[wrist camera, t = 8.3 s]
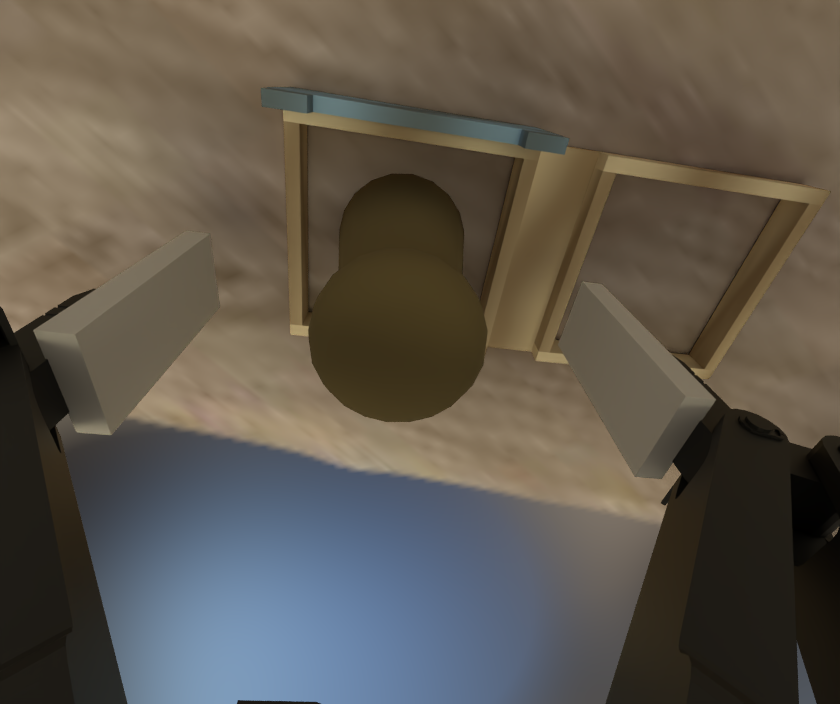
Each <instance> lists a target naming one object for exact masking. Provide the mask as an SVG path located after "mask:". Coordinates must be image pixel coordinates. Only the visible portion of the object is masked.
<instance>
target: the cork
mask: <svg viewBox="0 0 840 704" xmlns="http://www.w3.org/2000/svg"><path fill="white" fill-rule="evenodd" d="M463 244H464V229H463V225H462V221H461V217H460V213H459V211H458V209H457V208H456V206H455V204H454V203H453V201H452V200H451V198H450V196H449V195H448V194H447V193H446V192H444V191H443V190H442V189H441V188H440V187H438V186H437V185H436V184H435V183H434V182H432V181H429V180H427V179H424V178H421V177H419V176H416V175H413V174H390V175H387V176H384V177H381V178H378V179H375V180H372V181H370V182H369V183H368V184H366V185H365V186H364V187H363V188H361V189H360V190H359V191H357V192H356V193H355V194H354V196H353V197H352V199H351V201H350V202H349V204H348V205H347V207H346V208H345V210H344V214H343V218H342V222H341V226H340V235H339V271H337V272H336V273H335V274H333V275H332V277H331V278H330V280H329V281H328V283H327V284H326V285H325V287H324V288H323V290H322V291H321V293H320V294H319V296H318V298H317V300H316V302H315V304H314V307H313V311H312V315H311V320H310V324H309V328H308V334H309V344H310V351H311V358H312V364H313V366H314V368H315V369H316V371H317V373H318V375H319V377H320V379H321V381H322V382H323V384H324V385H325V387H326V388H327V389H328V390H329V391H330V392H331V393H332V394H333V395H334V396H335V397H336V398H337V399H338V400H339V401H340V402H341V403H342V404H343V405H344V406H346V407H348V408H350V409H351V410H353V411H355V412H357V413H359V414H361V415H363V416H365V417H369V418H373V419H377V420H381V421H385V422H411V421H416V420H420V419H424V418H428V417H432V416H434V415H436V414H438V413H439V412H441V411H443V410H445V409H447V408H449V407H451V406H452V405H453V404H454V403H455V402H456V401H457V400H458V399H459V398H460V397H461V396H462V395H463V394H464V393H465V392H466V391H467V390H468V389H469V388H470V387H471V386H472V385H473V383H474V381H475V379H476V378H477V376H478V374H479V372H480V370H481V368H482V366H483V363H484V356H485V349H486V341H487V334H488V330H487V326H486V321H485V317H484V313H483V309H482V306H481V303H480V300H479V298H478V296H477V295H476V293H475V292H474V290H473V289H472V287H471V286H470V284H469V283H468V281H467V280H466V278H465V277H464V276H463V275H462V270H463Z"/></svg>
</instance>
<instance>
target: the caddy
mask: <svg viewBox="0 0 840 704" xmlns="http://www.w3.org/2000/svg"><path fill="white" fill-rule="evenodd" d="M261 100H262V107H268V108H274V109H281V110H283V122H284V153H285V183H286V214H287V245H288V276H289V307H290V334H291V335H300V336H309V334H308V328H309V324H310V320H311V315H312V312H308V157H307V125H313V126H319V127H325V128H332V129H338V130H344V131H351V132H357V133H364V134H370V135H376V136H383V137H389V138H395V139H402V140H408V141H414V142H421V143H427V144H433V145H440V146H446V147H453V148H459V149H465V150H472V151H478V152H484V153H491V154H497V155H503V156H510V157H515V160H514V164H513V168H512V172H511V176H510V180H509V184H508V188H507V192H506V197H505V201H504V205H503V209H502V213H501V217H500V221H499V225H498V229H497V233H496V237H495V241H494V246H493V250H492V254H491V258H490V262H489V266H488V270H487V274H486V278H485V282H484V286H483V290H482V295H481V299H480V303H481V306H482V309H483V313H484V317H485V321H486V326H487V330H488V334H487V341H486V349H485V354H486V350H487V347H493V348H502V349H512V350H521V351H530V352H532V354H533V357H534V359H535V361H543V362H553V363H562V364H569V363H568V361H567V360H566V358H565V356H564V354H563V353H562V351H561V349H560V348H559V346H558V343H559V340H554V339H555V337H556V334H557V331H558V328H559V326H560V323H561V320H562V318H563V315H564V312H565V310H566V307H567V304H568V302H569V299H570V296H571V294H572V291H573V288H574V286H575V283H576V280H577V278H578V275H579V272H580V270H581V267H582V264H583V262H584V259H585V256H586V254H587V251H588V248H589V246H590V243H591V240H592V238H593V235H594V232H595V230H596V227H597V224H598V222H599V219H600V216H601V214H602V211H603V208H604V206H605V203H606V200H607V198H608V195H609V192H610V190H611V187H612V184H613V182H614V179H615V176H616V174H617V173H618V174H624V175H631V176H637V177H643V178H650V179H656V180H662V181H669V182H675V183H681V184H688V185H694V186H700V187H707V188H713V189H720V190H726V191H732V192H739V193H745V194H751V195H758V196H764V197H770V198H777V199H781V201H780V202H779V204H778V206H777V207H776V209H775V211H774V212H773V214H772V216H771V217H770V219H769V221H768V222H767V224H766V226H765V227H764V229H763V231H762V233H761V234H760V236H759V238H758V239H757V241H756V243H755V244H754V246H753V248H752V249H751V251H750V253H749V254H748V256H747V258H746V259H745V261H744V263H743V264H742V266H741V268H740V269H739V271H738V273H737V275H736V276H735V278H734V280H733V281H732V283H731V285H730V286H729V288H728V290H727V291H726V293H725V295H724V296H723V298H722V300H721V301H720V303H719V305H718V306H717V308H716V310H715V311H714V313H713V315H712V316H711V318H710V320H709V322H708V323H707V325H706V327H705V328H704V330H703V332H702V333H701V335H700V337H699V338H698V340H697V342H696V343H695V345H694V347H693V348H692V350H691V352H690V353H689V355H687V354H678V353H671V354H672V355H674V356H675V357H677V358H678V359H680V360H681V361H683V362H684V363H685V364H686V365H687V366H688V367H689V368H690V369H691V370H692V371H693V372H694V373H695V375H697V376H698V377H699V378H702V379H709V378H710V376H711V375H712V373H713V372H714V370H715V369H716V367H717V365H718V364H719V362H720V361H721V359H722V358H723V356H724V355H725V353H726V352H727V350H728V349H729V347H730V346H731V344H732V342H733V341H734V339H735V338H736V336H737V335H738V333H739V332H740V330H741V329H742V327H743V326H744V324H745V323H746V321H747V319H748V318H749V316H750V315H751V313H752V312H753V310H754V309H755V307H756V306H757V304H758V303H759V301H760V300H761V298H762V296H763V295H764V293H765V292H766V290H767V289H768V287H769V286H770V284H771V283H772V281H773V280H774V278H775V277H776V275H777V273H778V272H779V270H780V269H781V267H782V266H783V264H784V263H785V261H786V260H787V258H788V257H789V255H790V254H791V252H792V250H793V249H794V247H795V246H796V244H797V243H798V241H799V240H800V238H801V237H802V235H803V234H804V232H805V231H806V229H807V227H808V226H809V224H810V223H811V221H812V220H813V218H814V217H815V215H816V214H817V212H818V211H819V209H820V208H821V206H822V204H823V203H824V201H825V200H826V198H827V197H828V195H829V194H830V192H831V191H827V190H823V189H819V188H815V187H811V186H807V185H803V184H797V183H791V182H785V181H779V180H772V179H766V178H760V177H754V176H748V175H742V174H735V173H729V172H723V171H717V170H711V169H705V168H698V167H692V166H686V165H680V164H674V163H668V162H661V161H655V160H649V159H643V158H637V157H631V156H624V155H618V154H612V153H606V152H600V151H594V150H587V149H581V148H575V147H569V146H567V145H568V142H569V138H566V137H563V136H561V135H558V134H555V133H552V132H549V131H546V130H542V129H539V128H536V127H530V126H524V125H518V124H511V123H505V122H499V121H493V120H487V119H481V118H475V117H469V116H463V115H457V114H451V113H445V112H439V111H433V110H427V109H421V108H415V107H409V106H403V105H397V104H391V103H385V102H379V101H373V100H367V99H361V98H354V97H348V96H342V95H336V94H330V93H324V92H318V91H312V90H306V89H300V88H294V87H267V88H261Z"/></svg>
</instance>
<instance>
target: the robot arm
mask: <svg viewBox="0 0 840 704" xmlns="http://www.w3.org/2000/svg"><path fill="white" fill-rule="evenodd" d="M219 308H220V303H219V296H218V288H217V281H216V273H215V266H214V258H213V251H212V244H211V236H210V234H209V233H201V232H194V231H185V232H183V233H182V234H180V235H179V236H177V237H176V238H174V239H172V240H171V241H169V242H168V243H166V244H165V245H163V246H162V247H160V248H159V249H157V250H156V251H154V252H152V253H151V254H149V255H148V256H146V257H145V258H143V259H142V260H140V261H139V262H137V263H136V264H134V265H133V266H131V267H129V268H128V269H126V270H125V271H123V272H122V273H120V274H119V275H117V276H116V277H114V278H113V279H111V280H109V281H108V282H106V283H105V284H103V285H102V286H100V287H99V288H97V289H92V290H89V291H86V292H83V293H80V294H77V295H75V296H72V297H71V298H69V299H67V300H66V301H64V302H63V303H61V304H59V305H58V308H56V307H55V308H53V309H51V310H50V311H48V312H47V313H45V316H44V315H42V316H40V317H39V318H37V319H36V320H34V321H32V322H31V323H29V324H28V325H26V326H24V327H23V328H21V329H20V330H18V331H16V332H15V333H13V331H12V328H11V326H10V324H9V322H8V320H7V317H6V315H5V313H4V311H3V309H2V308H1V307H0V704H127V700H126V696H125V692H124V688H123V684H122V680H121V676H120V672H119V668H118V664H117V661H116V656H115V652H114V648H113V644H112V640H111V636H110V632H109V628H108V624H107V620H106V616H105V612H104V608H103V604H102V600H101V596H100V592H99V588H98V584H97V580H96V576H95V572H94V568H93V564H92V560H91V556H90V552H89V548H88V544H87V540H86V536H85V532H84V528H83V524H82V520H81V516H80V512H79V509H78V504H77V500H76V496H75V492H74V488H73V485H72V480H71V476H70V472H69V468H68V464H67V460H66V456H65V452H64V448H63V444H62V440H61V436H60V434H59V432H58V430H57V427H56V424H57V423H58V422H59V421H60V420H61V419H62V418H64V417H65V416H66V415H67V414H69V416H70V418H71V421H72V423H73V426H74V428H75V430H76V432H78V433H91V434H104V435H112V434H113V433H114V431H115V430H116V429H117V428H118V427H119V426H120V424H121V423H122V422H123V421H124V420H125V419H126V417H127V416H128V415H129V414H130V413H131V411H132V410H133V409H134V408H135V407H136V406H137V404H138V403H139V402H140V401H141V400H142V398H143V397H144V396H145V395H146V394H147V393H148V391H149V390H150V389H151V388H152V387H153V386H154V384H155V383H156V382H157V381H158V380H159V378H160V377H161V376H162V375H163V374H164V373H165V371H166V370H167V369H168V368H169V367H170V365H171V364H172V363H173V362H174V361H175V360H176V358H177V357H178V356H179V355H180V354H181V353H182V351H183V350H184V349H185V348H186V347H187V345H188V344H189V343H190V342H191V341H192V340H193V338H194V337H195V336H196V335H197V334H198V333H199V331H200V330H201V329H202V328H203V327H204V325H205V324H206V323H207V322H208V321H209V320H210V318H211V317H212V316H213V315H214V314H215V312H216V311H217V310H218V309H219ZM558 346H559V348H560V349H561V351H562V353H563V354H564V356H565V358H566V360H567V361H568V363H569V365H570V366H571V368H572V370H573V372H574V373H575V375H576V377H577V378H578V380H579V382H580V384H581V385H582V387H583V389H584V390H585V392H586V394H587V396H588V397H589V399H590V401H591V402H592V404H593V406H594V408H595V409H596V411H597V413H598V414H599V416H600V418H601V420H602V421H603V423H604V425H605V426H606V428H607V430H608V432H609V433H610V435H611V437H612V438H613V440H614V442H615V444H616V445H617V447H618V449H619V450H620V452H621V454H622V456H623V457H624V459H625V461H626V462H627V464H628V466H629V468H630V469H631V471H632V473H633V474H634V476H635V477H644V478H656V479H662V478H663V476H664V475H665V473H666V472H667V471H668V469H669V468H670V466H671V465H672V463H674V464H675V466H676V467H677V469H678V470H679V471H680V473H681V475H680V477H679V478H678V479H677V481H676V482H675V484H674V485H673V486H672V488H671V489H670V490H669V492H668V493H667V495H666V496H665V497H664V499H663V500H662V502H661V504H663V505H666V504H667V503H668V505H667V508H666V511H665V515H664V518H663V521H662V524H661V528H660V531H659V534H658V537H657V540H656V544H655V547H654V550H653V553H652V556H651V560H650V563H649V566H648V570H647V573H646V576H645V579H644V582H643V585H642V588H641V592H640V595H639V598H638V601H637V604H636V608H635V611H634V615H633V617H632V620H631V624H630V627H629V630H628V633H627V636H626V640H625V643H624V646H623V650H622V653H621V656H620V659H619V662H618V665H617V669H616V672H615V675H614V678H613V681H612V685H611V688H610V691H609V694H608V697H607V701H606V704H799V698H798V697H799V695H798V669H797V643H798V645H799V649H800V652H801V655H802V659H803V662H804V665H805V668H806V671H807V674H808V677H809V681H810V684H811V687H812V690H813V693H814V697H815V700H816V703H817V704H840V527H839V526H840V437H837V436H825V437H823V438H822V439H821V440H820V441H819V442H818V444H817V445H816V446H815V447H814V448H813V449H810V448H807V447H803V446H800V445H796V444H793V443H790V442H789V441H788V438H787V436H786V435H785V434H784V432H783V431H782V430H781V429H780V428H779V427H777V426H776V425H774V424H773V423H771V422H770V421H769V420H767V419H765V418H763V417H761V416H759V415H757V414H754V413H751V412H748V411H745V410H740V409H731V408H730V407H729V406H728V405H727V404H726V403H725V402H724V401H723V400H722V399H721V398H720V397H719V396H718V395H717V394H716V393H715V392H714V391H713V390H712V389H711V388H710V387H709V386H708V385H707V384H703V381H702V380H701V379H700V378H699V377H698V376H697V375H695V373H694V372H693V371H692V370H691V369H690V368H689V367H688V366H687V365H686V364H685V363H684V362H683V361H681V360H680V359H678V358H677V357H675V356H674V355H672V354H671V353H670V352H669V351H668V350H667V349H666V348H665V347H664V346H663V345H662V344H661V343H660V342H659V341H658V340H657V339H656V338H655V337H654V336H653V335H652V334H651V333H650V332H649V331H648V330H647V329H646V328H645V327H644V326H643V325H642V324H641V323H640V322H639V321H638V320H637V319H636V318H635V317H634V316H633V315H632V314H631V313H630V312H629V311H628V310H627V309H626V308H625V307H624V306H623V305H622V304H621V303H620V302H619V301H618V300H617V299H616V298H615V297H614V296H613V295H612V294H611V293H610V292H609V291H608V290H607V289H606V288H605V287H604V286H603V285H602V284H599V283H591V282H583V281H582V283H581V286H580V288H579V291H578V293H577V296H576V299H575V301H574V304H573V307H572V309H571V312H570V314H569V317H568V320H567V322H566V325H565V327H564V330H563V333H562V335H561V338H560V340H559V343H558ZM838 527H839V530H838V533H837V534H836V535H835V537H834V538H833V536H832V532H833V531H834V530H836V529H837V528H838ZM796 640H797V641H796ZM237 704H320V703H317V702H291V701H289V702H288V701H240V700H238V702H237Z"/></svg>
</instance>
